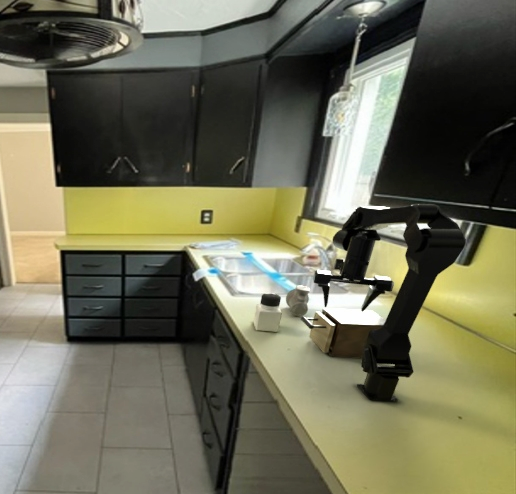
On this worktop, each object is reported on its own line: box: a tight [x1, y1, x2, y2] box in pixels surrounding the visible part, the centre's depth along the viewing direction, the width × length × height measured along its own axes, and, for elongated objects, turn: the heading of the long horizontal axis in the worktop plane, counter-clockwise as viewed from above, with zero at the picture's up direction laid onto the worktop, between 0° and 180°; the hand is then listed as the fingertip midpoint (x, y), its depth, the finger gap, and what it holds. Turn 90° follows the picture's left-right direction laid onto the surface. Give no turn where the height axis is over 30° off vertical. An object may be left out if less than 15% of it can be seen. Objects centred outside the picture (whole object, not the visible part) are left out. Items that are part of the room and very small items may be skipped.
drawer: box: [300, 310, 339, 354], centre depth 110 cm, size 18×11×9 cm, turn 84°
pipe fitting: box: [285, 284, 311, 318], centre depth 139 cm, size 12×8×10 cm
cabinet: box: [321, 307, 387, 359], centre depth 110 cm, size 15×13×11 cm
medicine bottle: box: [253, 292, 283, 333], centre depth 124 cm, size 7×7×12 cm
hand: (343, 309), depth 105 cm, fingers open, 9 cm apart
